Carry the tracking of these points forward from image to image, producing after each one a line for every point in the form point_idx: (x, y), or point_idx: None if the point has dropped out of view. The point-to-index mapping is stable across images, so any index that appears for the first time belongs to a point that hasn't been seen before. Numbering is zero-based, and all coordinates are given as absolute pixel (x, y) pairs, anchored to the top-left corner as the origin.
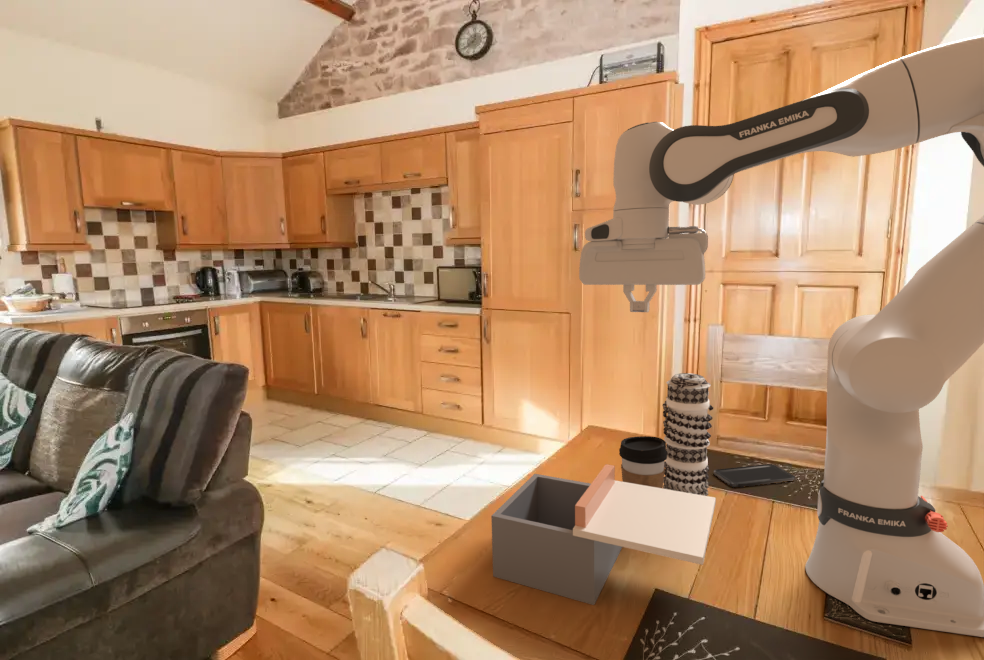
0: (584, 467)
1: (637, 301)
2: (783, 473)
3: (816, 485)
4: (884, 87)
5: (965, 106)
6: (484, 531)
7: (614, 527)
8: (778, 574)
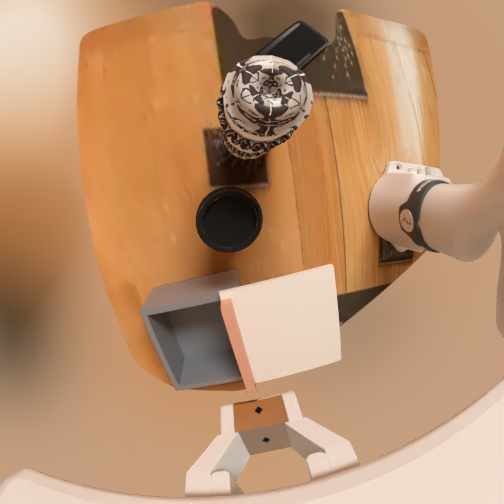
0: (115, 136)
1: (258, 445)
2: (316, 35)
3: (345, 47)
4: None
5: None
6: (130, 319)
7: (273, 367)
8: (353, 231)
